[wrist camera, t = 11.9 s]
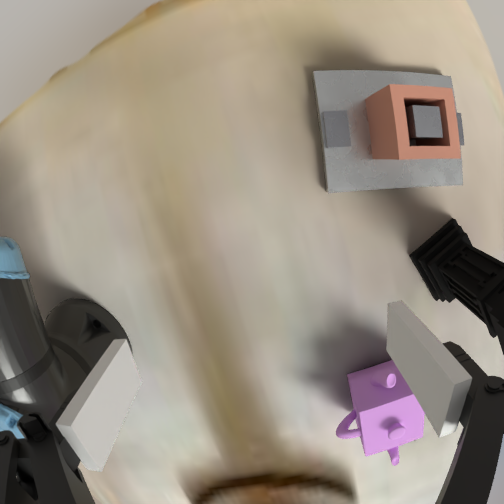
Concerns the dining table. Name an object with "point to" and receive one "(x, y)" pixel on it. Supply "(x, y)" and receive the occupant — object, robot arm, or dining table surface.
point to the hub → (395, 123)
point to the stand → (358, 135)
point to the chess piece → (463, 275)
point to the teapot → (382, 410)
